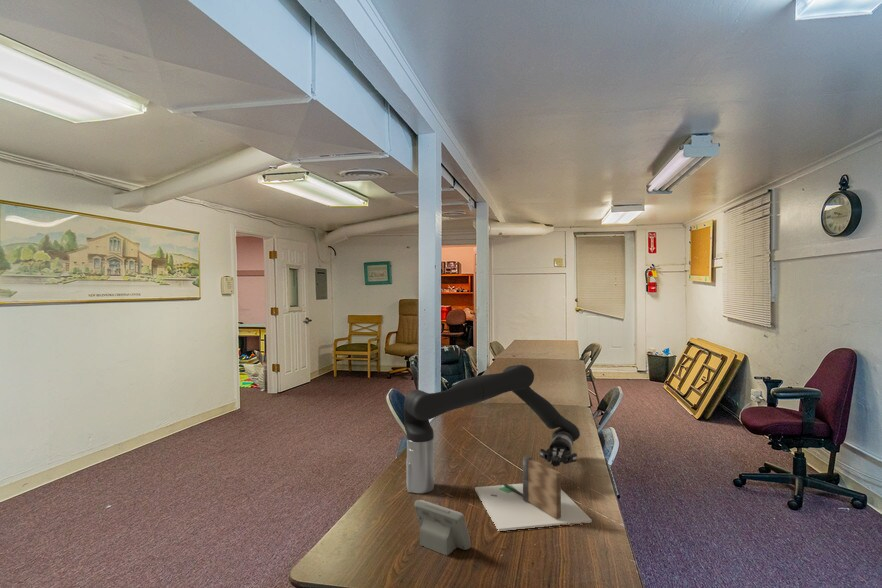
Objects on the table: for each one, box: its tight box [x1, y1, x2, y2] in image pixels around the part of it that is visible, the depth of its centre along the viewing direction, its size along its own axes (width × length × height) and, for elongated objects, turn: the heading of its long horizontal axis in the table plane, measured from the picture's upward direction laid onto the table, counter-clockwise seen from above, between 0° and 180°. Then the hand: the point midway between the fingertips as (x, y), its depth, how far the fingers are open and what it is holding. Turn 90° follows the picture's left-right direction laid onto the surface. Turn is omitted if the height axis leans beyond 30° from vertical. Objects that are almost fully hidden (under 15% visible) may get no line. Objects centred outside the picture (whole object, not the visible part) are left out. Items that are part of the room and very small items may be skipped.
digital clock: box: [414, 499, 472, 557], centre depth 126 cm, size 16×9×11 cm, turn 43°
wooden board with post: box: [503, 456, 562, 519], centre depth 148 cm, size 26×3×13 cm, turn 29°
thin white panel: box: [474, 483, 593, 532], centre depth 148 cm, size 28×28×1 cm
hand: (555, 463), depth 154 cm, fingers closed
